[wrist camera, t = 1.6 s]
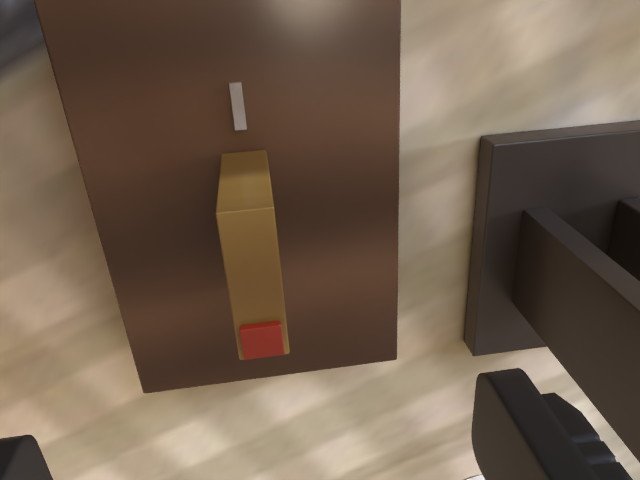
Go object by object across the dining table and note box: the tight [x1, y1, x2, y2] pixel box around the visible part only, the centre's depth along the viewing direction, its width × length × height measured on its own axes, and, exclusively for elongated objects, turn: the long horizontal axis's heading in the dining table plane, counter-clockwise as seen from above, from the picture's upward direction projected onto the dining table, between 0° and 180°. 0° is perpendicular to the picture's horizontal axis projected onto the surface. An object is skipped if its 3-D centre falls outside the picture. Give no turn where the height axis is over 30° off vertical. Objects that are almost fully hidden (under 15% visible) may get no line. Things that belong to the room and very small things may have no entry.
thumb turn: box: [216, 150, 290, 360], centre depth 16 cm, size 4×1×5 cm, turn 3°
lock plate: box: [34, 0, 401, 393], centre depth 19 cm, size 14×10×3 cm
